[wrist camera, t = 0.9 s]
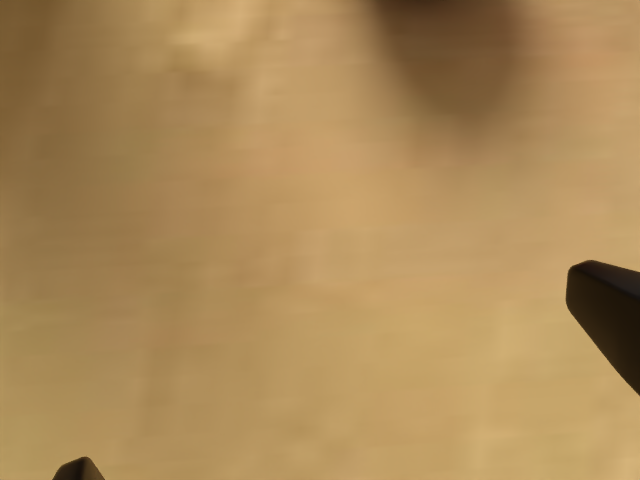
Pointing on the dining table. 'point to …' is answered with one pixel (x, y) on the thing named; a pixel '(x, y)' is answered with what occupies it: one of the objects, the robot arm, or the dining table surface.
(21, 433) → the dining table surface
